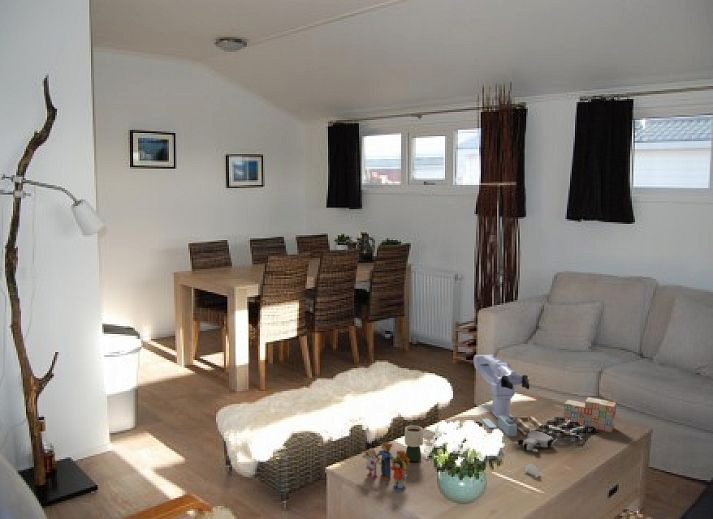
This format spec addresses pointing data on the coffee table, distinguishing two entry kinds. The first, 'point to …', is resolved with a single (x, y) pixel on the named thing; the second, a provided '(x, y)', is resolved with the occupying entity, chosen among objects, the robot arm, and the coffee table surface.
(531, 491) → the coffee table surface
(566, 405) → the stack of blocks
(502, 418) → the light blue block
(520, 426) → the wooden pallet
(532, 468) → the car cutout
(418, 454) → the character mug
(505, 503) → the coffee table surface
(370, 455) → the doll family
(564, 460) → the coffee table surface
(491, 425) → the wing plate
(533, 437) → the robot toy
